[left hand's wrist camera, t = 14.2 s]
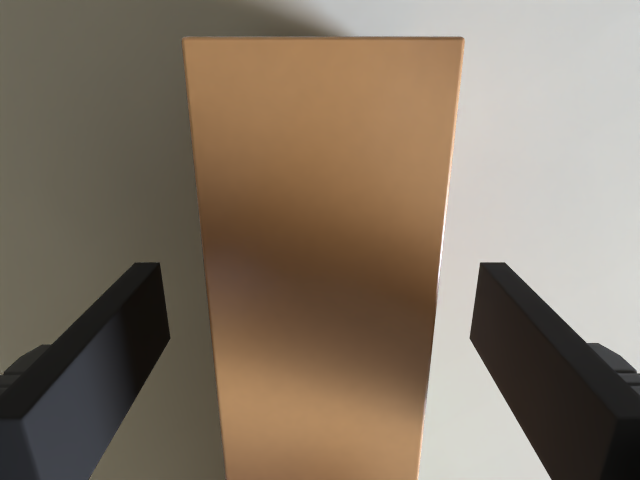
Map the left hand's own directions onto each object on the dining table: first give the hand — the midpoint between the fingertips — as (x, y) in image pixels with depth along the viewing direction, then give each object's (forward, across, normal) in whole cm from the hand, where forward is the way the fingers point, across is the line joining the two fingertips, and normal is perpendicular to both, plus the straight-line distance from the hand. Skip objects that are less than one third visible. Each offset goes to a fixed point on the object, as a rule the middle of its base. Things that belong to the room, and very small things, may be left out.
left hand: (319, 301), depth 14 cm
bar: (+3, 0, -24) cm, 25 cm away
